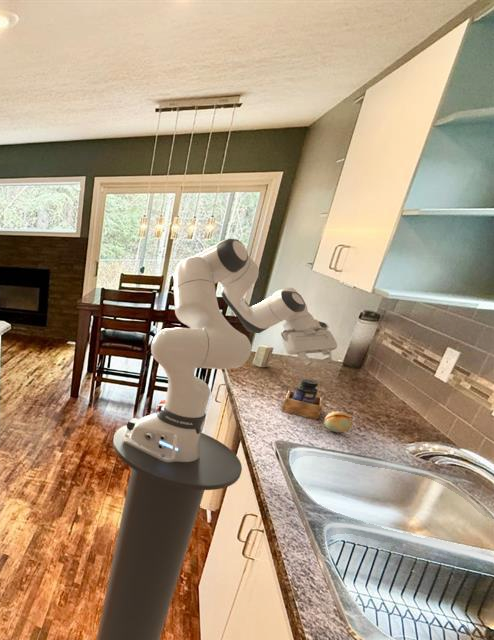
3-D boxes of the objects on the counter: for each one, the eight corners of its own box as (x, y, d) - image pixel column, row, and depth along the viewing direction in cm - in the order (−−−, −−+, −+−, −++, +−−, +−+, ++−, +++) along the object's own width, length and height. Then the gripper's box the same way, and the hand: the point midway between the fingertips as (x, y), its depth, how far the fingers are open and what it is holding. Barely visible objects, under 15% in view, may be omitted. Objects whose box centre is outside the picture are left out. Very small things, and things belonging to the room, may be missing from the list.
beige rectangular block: (268, 367, 191) (274, 347, 187) (260, 367, 190) (266, 347, 187) (259, 363, 196) (265, 344, 192) (251, 364, 195) (257, 344, 191)
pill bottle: (300, 412, 143) (311, 385, 139) (285, 405, 149) (295, 378, 144) (314, 411, 144) (324, 384, 140) (298, 404, 150) (308, 377, 146)
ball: (320, 424, 137) (327, 406, 134) (346, 430, 133) (354, 411, 130) (321, 432, 131) (329, 413, 129) (348, 438, 128) (357, 419, 125)
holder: (281, 410, 146) (285, 398, 144) (284, 401, 153) (288, 390, 151) (317, 419, 140) (322, 407, 138) (318, 410, 147) (323, 397, 145)
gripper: (287, 325, 137) (305, 361, 132) (330, 323, 142) (349, 357, 137) (271, 334, 143) (288, 368, 138) (313, 332, 148) (331, 365, 143)
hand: (319, 363), depth 138 cm, fingers open, 8 cm apart
